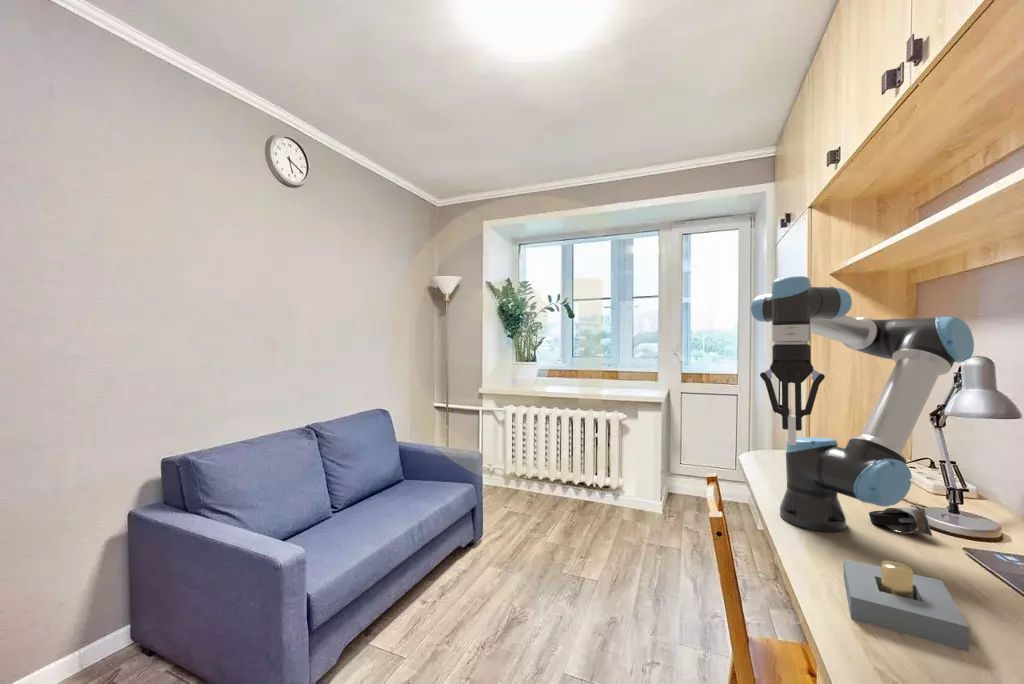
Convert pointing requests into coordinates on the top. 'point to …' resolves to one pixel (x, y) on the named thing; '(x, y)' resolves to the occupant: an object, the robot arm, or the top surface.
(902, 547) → the top surface
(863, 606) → the jig
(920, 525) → the caster wheel
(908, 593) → the gold metal cylinder
